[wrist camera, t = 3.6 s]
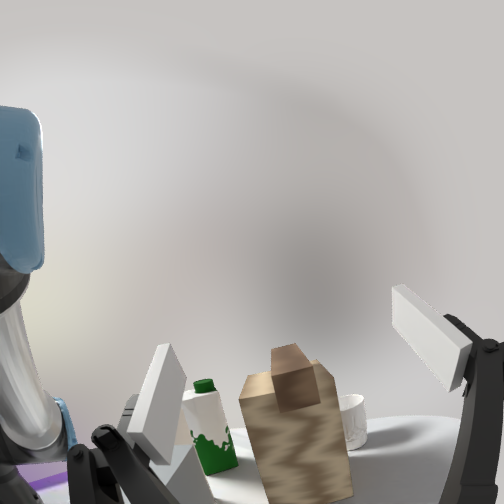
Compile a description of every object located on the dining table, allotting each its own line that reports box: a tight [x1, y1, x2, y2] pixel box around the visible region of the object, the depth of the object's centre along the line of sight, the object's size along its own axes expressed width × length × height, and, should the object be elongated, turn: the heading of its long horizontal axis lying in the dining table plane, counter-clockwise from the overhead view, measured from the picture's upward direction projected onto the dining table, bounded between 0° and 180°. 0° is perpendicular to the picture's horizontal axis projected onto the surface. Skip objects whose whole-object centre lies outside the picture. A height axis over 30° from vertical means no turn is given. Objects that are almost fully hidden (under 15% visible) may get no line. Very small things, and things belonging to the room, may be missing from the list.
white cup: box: [338, 394, 367, 451], centre depth 45 cm, size 8×8×10 cm
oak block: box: [239, 360, 354, 504], centre depth 36 cm, size 12×14×21 cm
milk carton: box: [181, 379, 238, 476], centre depth 49 cm, size 9×9×20 cm
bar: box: [271, 343, 321, 413], centre depth 34 cm, size 4×20×4 cm, turn 176°
